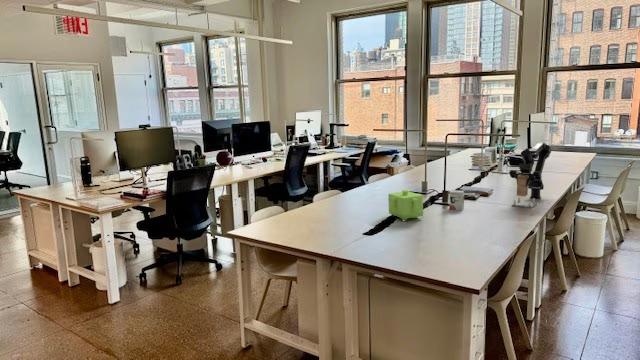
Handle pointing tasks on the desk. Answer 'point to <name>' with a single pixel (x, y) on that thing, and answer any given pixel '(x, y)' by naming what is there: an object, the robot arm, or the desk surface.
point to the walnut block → (522, 185)
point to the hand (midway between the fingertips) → (521, 185)
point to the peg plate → (524, 203)
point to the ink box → (456, 200)
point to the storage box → (405, 204)
